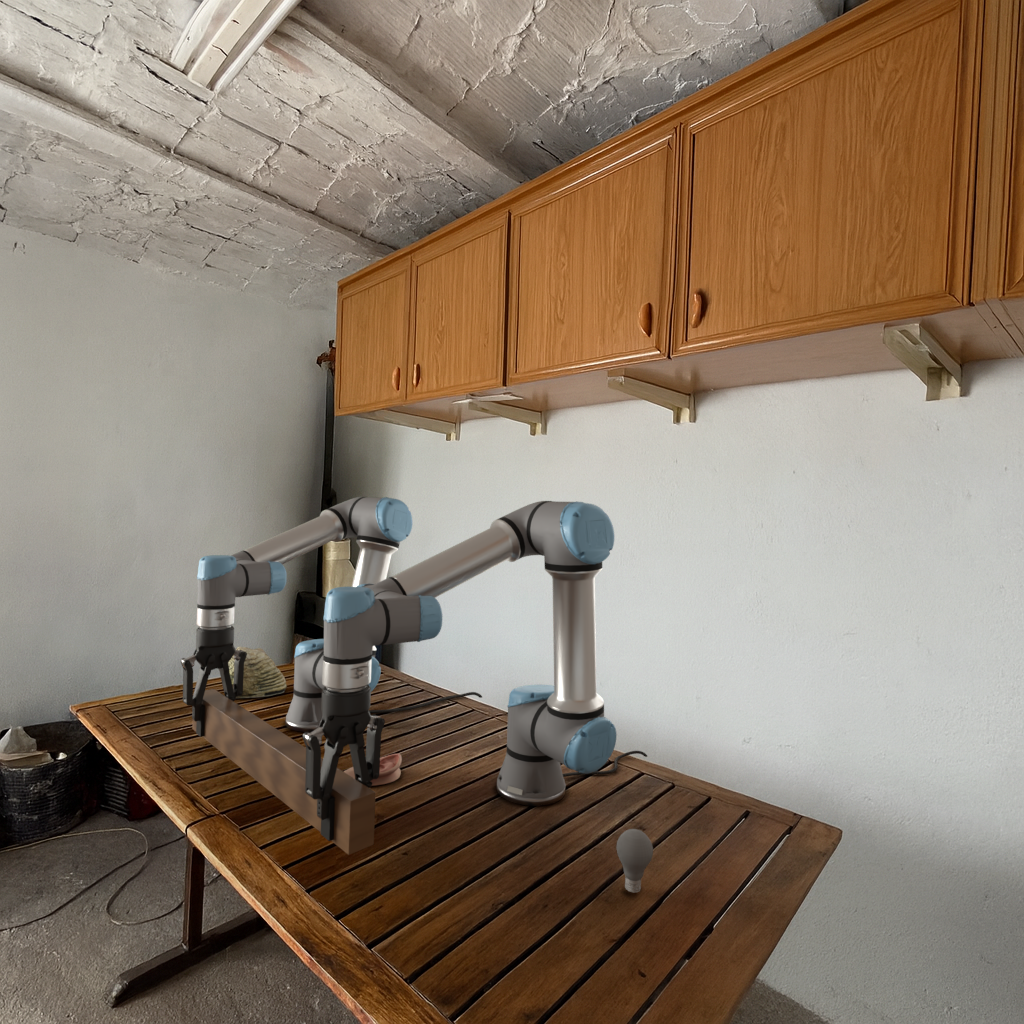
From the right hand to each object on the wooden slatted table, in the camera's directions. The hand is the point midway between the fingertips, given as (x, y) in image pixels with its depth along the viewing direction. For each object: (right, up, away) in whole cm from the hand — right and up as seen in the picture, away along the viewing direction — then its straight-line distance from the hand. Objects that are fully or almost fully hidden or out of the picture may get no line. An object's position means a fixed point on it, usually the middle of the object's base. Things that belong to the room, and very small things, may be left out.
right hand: (341, 830), depth 101 cm
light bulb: (+47, -13, +5) cm, 49 cm away
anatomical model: (-5, -10, +43) cm, 45 cm away
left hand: (-39, +3, +38) cm, 55 cm away
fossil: (-53, -6, +97) cm, 111 cm away
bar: (-19, +1, +19) cm, 27 cm away
